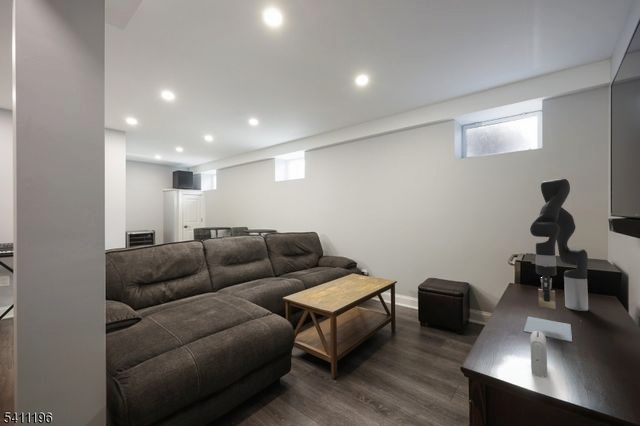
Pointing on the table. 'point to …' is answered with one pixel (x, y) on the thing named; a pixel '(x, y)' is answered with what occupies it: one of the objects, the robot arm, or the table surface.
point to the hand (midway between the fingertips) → (546, 300)
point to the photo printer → (538, 353)
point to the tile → (545, 303)
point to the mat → (549, 328)
